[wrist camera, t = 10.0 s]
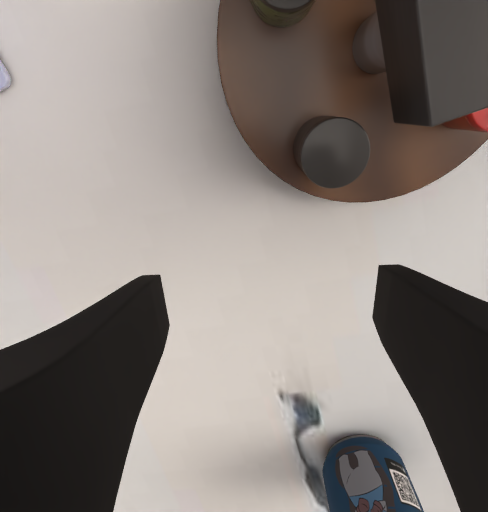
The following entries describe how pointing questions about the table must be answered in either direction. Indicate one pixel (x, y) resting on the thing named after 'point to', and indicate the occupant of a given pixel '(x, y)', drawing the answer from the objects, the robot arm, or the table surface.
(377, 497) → the soda can
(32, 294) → the table surface
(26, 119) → the table surface
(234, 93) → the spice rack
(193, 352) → the table surface
